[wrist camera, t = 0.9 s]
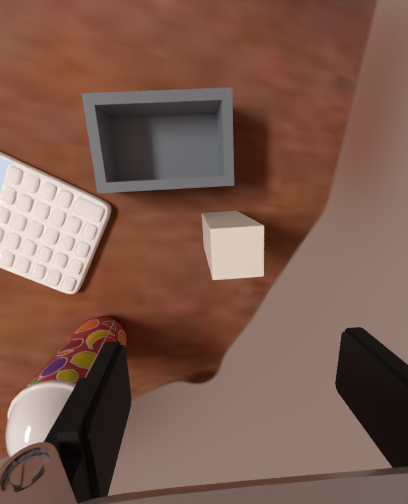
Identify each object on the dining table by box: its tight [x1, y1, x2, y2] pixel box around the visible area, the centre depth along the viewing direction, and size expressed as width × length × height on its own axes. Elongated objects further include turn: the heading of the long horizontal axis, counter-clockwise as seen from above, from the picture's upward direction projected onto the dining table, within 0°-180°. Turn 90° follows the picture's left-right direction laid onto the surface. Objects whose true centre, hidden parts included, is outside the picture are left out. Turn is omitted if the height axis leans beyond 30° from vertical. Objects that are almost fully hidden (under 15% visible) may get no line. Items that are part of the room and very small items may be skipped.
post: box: [202, 211, 264, 280], centre depth 27 cm, size 4×4×12 cm
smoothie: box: [6, 317, 127, 457], centre depth 26 cm, size 8×8×20 cm
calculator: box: [0, 152, 111, 294], centre depth 31 cm, size 13×20×2 cm, turn 64°
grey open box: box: [82, 88, 234, 193], centre depth 27 cm, size 9×14×6 cm, turn 93°
